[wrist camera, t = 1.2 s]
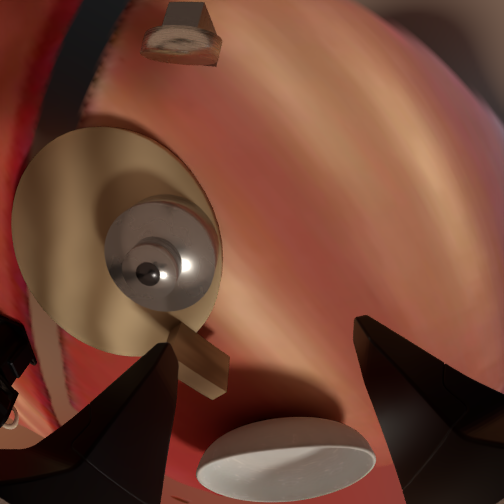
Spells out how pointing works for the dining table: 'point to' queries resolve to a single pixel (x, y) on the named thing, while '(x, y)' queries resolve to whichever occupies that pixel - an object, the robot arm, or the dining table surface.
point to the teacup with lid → (15, 422)
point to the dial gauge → (183, 37)
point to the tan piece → (93, 242)
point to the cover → (162, 252)
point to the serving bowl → (285, 460)
